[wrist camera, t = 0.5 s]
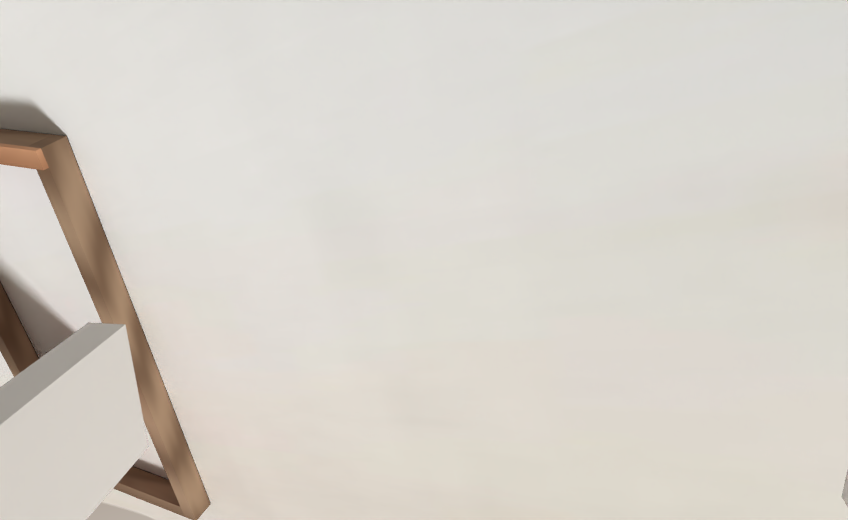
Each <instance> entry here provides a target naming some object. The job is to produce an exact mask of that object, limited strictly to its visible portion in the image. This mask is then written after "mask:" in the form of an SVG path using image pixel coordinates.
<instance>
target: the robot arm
mask: <svg viewBox="0 0 848 520" xmlns="http://www.w3.org/2000/svg"><path fill="white" fill-rule="evenodd" d="M148 447H149V446H148V441H147V435H146V430H145V425H144V420H143V414H142V409H141V404H140V399H139V393H138V388H137V383H136V377H135V372H134V367H133V362H132V356H131V351H130V346H129V341H128V335H127V330H126V325H125V324H106V323H87V324H86V325H85V326H83V327H82V328H80V329H79V330H78V331H76V332H75V333H74V334H72V335H71V336H70V337H68V338H67V339H65V340H64V341H63V342H61V343H60V344H59V345H57V346H56V347H55V348H53V349H52V350H50V351H49V352H48V353H46V354H45V355H44V356H42V357H41V358H40V359H38V360H37V361H35V362H34V363H33V364H31V365H30V366H29V367H27V368H26V369H25V370H23V371H22V372H20V373H19V374H18V375H16V376H15V377H14V378H12V379H11V380H10V381H8V382H7V383H6V384H4V385H3V386H1V387H0V520H86V519H87V518H88V517H89V516H90V515H91V514H92V512H93V511H94V510H95V509H96V508H97V507H98V505H99V504H100V503H101V502H102V501H103V500H104V498H105V497H106V496H107V495H108V494H109V493H110V491H111V490H112V489H113V488H114V487H115V486H116V484H117V483H118V482H119V481H120V480H121V479H122V477H123V476H124V475H125V474H126V473H127V472H128V470H129V469H130V468H131V467H132V466H133V465H134V463H135V462H136V461H137V460H138V459H139V458H140V456H141V455H142V454H143V453H144V452H145V451H146V449H147V448H148ZM842 498H843V500H844V501H845V503H846V505H847V506H848V471H847V475H846V480H845V484H844V489H843V493H842Z"/></svg>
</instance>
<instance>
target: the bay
mask: <svg viewBox="0 0 848 520" xmlns="http://www.w3.org/2000/svg"><path fill="white" fill-rule="evenodd" d="M0 164H3V165H10V166H17V167H24V168H31V169H37V172H38V174H39V176H40V179H41V181H42V183H43V186H44V188H45V190H46V193H47V195H48V197H49V200H50V202H51V204H52V207H53V209H54V211H55V214H56V216H57V218H58V221H59V223H60V226H61V228H62V230H63V233H64V235H65V237H66V240H67V242H68V244H69V247H70V249H71V251H72V254H73V256H74V258H75V261H76V263H77V265H78V268H79V270H80V272H81V275H82V277H83V279H84V282H85V284H86V286H87V289H88V291H89V294H90V296H91V298H92V301H93V303H94V305H95V308H96V310H97V312H98V315H99V317H100V319H101V322H102V323H106V324H125V325H126V330H127V335H128V341H129V346H130V351H131V356H132V362H133V367H134V372H135V377H136V383H137V388H138V393H139V399H140V404H141V409H142V414H143V420H144V422H145V425H146V427H147V429H148V432H149V434H150V437H151V439H152V441H153V444H154V446H155V448H156V451H157V453H158V455H159V458H160V460H161V462H162V465H163V467H164V469H165V472H166V474H167V476H168V479H169V480H167V479H165V478H162V477H159V476H157V475H154V474H151V473H148V472H146V471H143V470H140V469H138V468H135V467H131V468H130V469H129V470H128V472H127V473H126V474H125V475H124V476H123V477H122V479H121V480H120V481H119V482H118V483H117V484H116V486H115V487H114V489H116V490H119V491H121V492H124V493H126V494H129V495H131V496H134V497H136V498H139V499H141V500H144V501H146V502H149V503H151V504H154V505H156V506H159V507H162V508H164V509H167V510H169V511H172V512H174V513H177V514H179V515H182V516H184V517H187V518H189V519H192V520H197V519H198V518H199V517H200V516H201V515H202V513H203V512H204V511H205V510H206V509H207V508H208V506H209V505H210V501H209V499H208V496H207V494H206V491H205V489H204V486H203V483H202V481H201V478H200V476H199V473H198V471H197V468H196V466H195V463H194V460H193V458H192V455H191V453H190V450H189V448H188V445H187V443H186V440H185V437H184V435H183V432H182V430H181V427H180V425H179V422H178V420H177V417H176V414H175V412H174V409H173V407H172V404H171V402H170V399H169V397H168V394H167V392H166V389H165V386H164V384H163V381H162V379H161V376H160V374H159V371H158V369H157V366H156V363H155V361H154V358H153V356H152V353H151V351H150V348H149V346H148V343H147V340H146V338H145V335H144V333H143V330H142V328H141V325H140V323H139V320H138V317H137V315H136V312H135V310H134V307H133V305H132V302H131V300H130V297H129V294H128V292H127V289H126V287H125V284H124V282H123V279H122V277H121V274H120V271H119V269H118V266H117V264H116V261H115V259H114V256H113V254H112V251H111V248H110V246H109V243H108V241H107V238H106V236H105V233H104V231H103V228H102V226H101V223H100V220H99V218H98V215H97V213H96V210H95V208H94V205H93V203H92V200H91V197H90V195H89V192H88V190H87V187H86V185H85V182H84V180H83V177H82V174H81V172H80V169H79V167H78V164H77V162H76V159H75V157H74V154H73V151H72V149H71V146H70V144H69V141H68V139H67V136H61V135H52V134H43V133H34V132H25V131H16V130H7V129H0ZM0 351H1V353H2V355H3V357H4V359H5V361H6V362H7V364H8V366H9V368H10V370H11V372H12V374H13V376H14V377H15V376H16V375H18V374H19V373H20V372H22V371H23V370H25V369H26V368H27V367H29V366H30V365H31V364H33V363H34V362H35V361H37V360H38V359H39V358H38V356H37V355H36V353H35V351H34V349H33V347H32V345H31V343H30V341H29V339H28V337H27V335H26V333H25V331H24V329H23V327H22V325H21V323H20V321H19V319H18V317H17V315H16V313H15V311H14V309H13V307H12V305H11V303H10V301H9V299H8V297H7V295H6V293H5V291H4V289H3V287H2V285H1V283H0Z"/></svg>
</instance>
